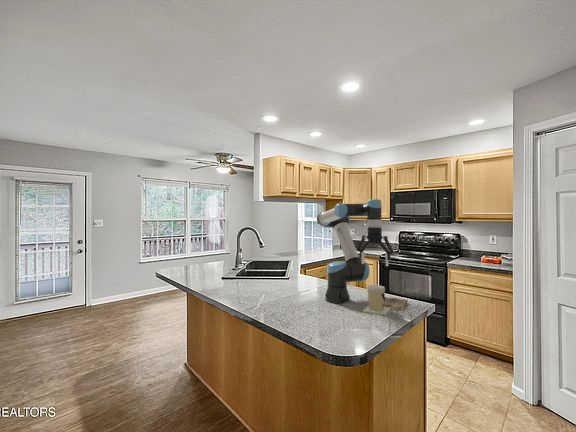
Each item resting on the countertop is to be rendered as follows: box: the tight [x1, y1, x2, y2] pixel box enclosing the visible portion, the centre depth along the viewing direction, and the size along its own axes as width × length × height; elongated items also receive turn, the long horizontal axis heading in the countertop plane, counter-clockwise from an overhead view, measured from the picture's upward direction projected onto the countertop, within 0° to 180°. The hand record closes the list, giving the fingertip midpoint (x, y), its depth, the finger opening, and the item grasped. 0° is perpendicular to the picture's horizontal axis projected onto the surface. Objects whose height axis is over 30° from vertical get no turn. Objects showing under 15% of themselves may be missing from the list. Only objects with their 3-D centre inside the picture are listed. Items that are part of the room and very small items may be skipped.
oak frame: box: [384, 296, 408, 311], centre depth 168 cm, size 15×15×2 cm
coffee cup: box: [366, 284, 386, 311], centre depth 159 cm, size 9×9×12 cm
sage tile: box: [362, 304, 392, 316], centre depth 159 cm, size 12×12×1 cm
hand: (374, 264), depth 162 cm, fingers open, 13 cm apart
